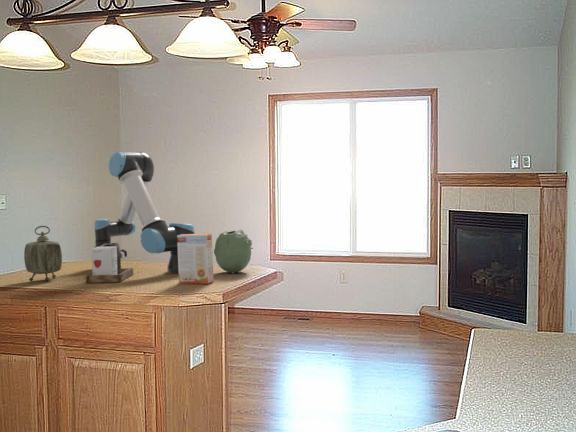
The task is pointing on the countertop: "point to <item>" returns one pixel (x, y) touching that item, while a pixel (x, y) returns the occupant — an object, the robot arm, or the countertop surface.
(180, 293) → the countertop surface
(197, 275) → the cracker box
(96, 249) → the supplement box
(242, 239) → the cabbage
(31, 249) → the tabletop clock
